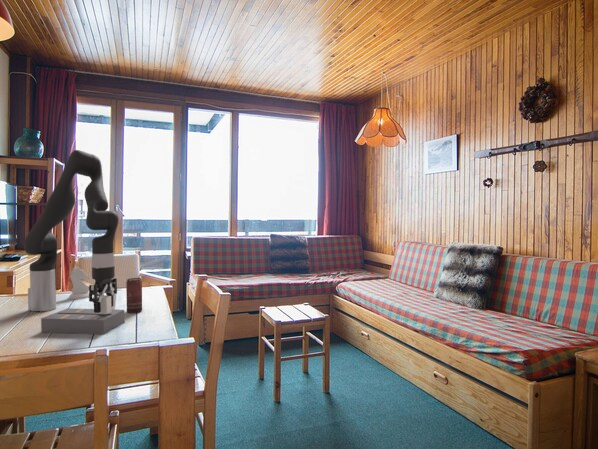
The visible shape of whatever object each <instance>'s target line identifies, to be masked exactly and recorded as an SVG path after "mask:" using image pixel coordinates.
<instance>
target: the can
mask: <svg viewBox="0 0 598 449" xmlns="http://www.w3.org/2000/svg"><path fill="white" fill-rule="evenodd" d="M125 286H126V288H125V289H126V292H125V293H126V312H127V313H128V314H137V313H140V312H142V311H143V280H142V278H139V277H137V278H136V277H135V278H134V277H132V278H127V279H126V282H125Z"/></svg>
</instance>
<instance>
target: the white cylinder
mask: <svg viewBox="0 0 598 449" xmlns="http://www.w3.org/2000/svg"><path fill="white" fill-rule="evenodd" d="M104 296H107V295H106V293H105V294H104ZM116 302H117V294H115V295H114V297H113V306H112V307H111V309H114V310H116V305H117V303H116Z"/></svg>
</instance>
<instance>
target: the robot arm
mask: <svg viewBox="0 0 598 449" xmlns="http://www.w3.org/2000/svg"><path fill="white" fill-rule="evenodd" d="M102 166H103V165H102V162H101V159H100V158H99V156H97V155H95V154H93V153H92V154H91V153H89V152H85V151H83V150H79V149H75V150H73V151H72V152H71V153H70V155H69V156H68V159H67V160H66V163H65V166H64V167H63V170H62V172H61V174H60V178H59V180H58V182H57V183H56V185H55V188H54V189H53V191H52V193H51V194H50V196H49V197H48V200H47V202H46V203H45V206H44V207H43V209H42V211H41V214H40V215H39V216H38V218H37V220H36V221H35V224H34V225H33V226H32V228H31V229H30V231H29V232H28V233H27V235H26V237H25V239H24V240H23V249H24V252H26V254H27V255H33V256H36V255H37V256H38V255H39V258H38V259H37V260H34V261H32V262H31V263H30V264H29V286H30V287H28V289H27V304H28V305H27V307H28V308H27V310H28V311H30V310H31V312H34V311H40V312H48V311H52V310H55V309H56V308H57V300H56V299H57V295H56V292H57V291H56V288H57V287H56V265H57V261H58V239H57V237H56V235H55V234H54V233H53V232H50V231H52V229H54V228H55V227H57V226H58V225H59V224H61V223H62V222H64V220H66V219H67V218H68V217H69V215H70V214H71V212H72V211H73V208H74V207H75V204H76V194H75V191H74V189H73V188H74V187H73V180H74V178H75V175H76V174H77V175H80V176H84V177H89V178H90V180H91V181H90V182H89V184H87V186H86V188H85V190H84V198H85V199H84V200H85V202H86V203H85V204H86V206H87V214H86V218H85V219H86V220H85V224H86V227H87V228H88V230H89V229H90V230H91V231H105V233H104V234H103V235H100V236H95V237H93V239H92V240H91V243H92V244H91V279H92V280H94V281H95V282H94V284H89V285H88V288H89V298H88V302H90V303H93V309H94V312H95V313H99V312H101V302H100V301H101V298H102V297H103V296H104V294H105V293H106V295H107V296H111V307H112V306H113V297H114V295H115V294H117V293H118V281H117V280H118V278H116V271H115V270H116V268H115V265H116V264H115V261H116V260H115V253H114V252H115V251H114V244H115V243H114V242H115V241H114V240H115V236H116V232H117V229H118V225H119V221H120V220H119V215H118V213H117V212H115V211H114V210H108V208H109V202H108V199H107V196H106V192H105V189H104V180H103V178H104V177H103V167H102Z"/></svg>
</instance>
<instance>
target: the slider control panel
mask: <svg viewBox="0 0 598 449" xmlns="http://www.w3.org/2000/svg"><path fill="white" fill-rule="evenodd" d="M124 323H125V309H115V310H114V309H111V313H109V314H107V315H101V314H96V313H95V312H94V308H69V307H68V308H65V309H62V310H60V311H59V310H58V311H57V312H54V313H52V314H49V315H47V316H44V317H41V318H40V328H41V329H40V330H41V331H40V332H41V333H45V332H51V334H79V335H80V334H84V335H85V334H86V335H87V334H88V335H105V334H106V333H109V332H110V331H112V330H115V329H116V328H117V327H120V326H121V325H123V324H124Z"/></svg>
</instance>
